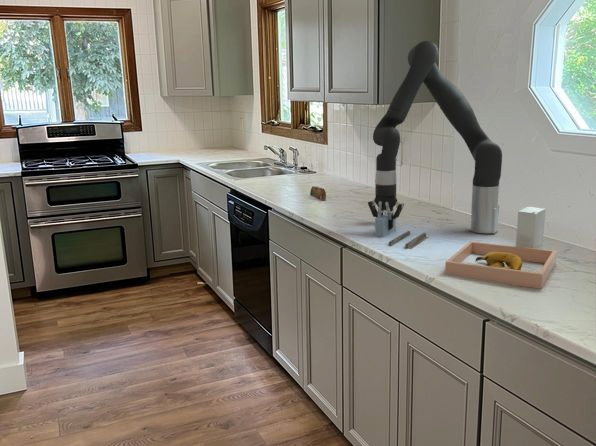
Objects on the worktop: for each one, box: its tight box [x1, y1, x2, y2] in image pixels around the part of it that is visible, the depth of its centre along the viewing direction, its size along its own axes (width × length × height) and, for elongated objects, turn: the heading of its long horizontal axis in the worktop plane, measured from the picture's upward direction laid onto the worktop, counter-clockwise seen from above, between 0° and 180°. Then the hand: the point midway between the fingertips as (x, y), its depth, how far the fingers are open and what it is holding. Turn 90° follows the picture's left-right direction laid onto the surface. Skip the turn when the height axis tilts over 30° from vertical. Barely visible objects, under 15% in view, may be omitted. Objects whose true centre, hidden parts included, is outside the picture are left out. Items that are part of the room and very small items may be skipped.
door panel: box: [374, 212, 397, 238], centre depth 209 cm, size 3×12×8 cm, turn 148°
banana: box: [474, 252, 523, 271], centre depth 166 cm, size 15×19×6 cm
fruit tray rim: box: [444, 241, 558, 289], centre depth 169 cm, size 26×26×4 cm
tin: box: [309, 186, 327, 202], centre depth 277 cm, size 15×3×8 cm, turn 19°
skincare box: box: [515, 206, 546, 249], centre depth 182 cm, size 8×6×15 cm
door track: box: [388, 230, 429, 250], centre depth 199 cm, size 9×18×2 cm, turn 149°
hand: (385, 228), depth 209 cm, fingers closed on door panel, 3 cm apart
